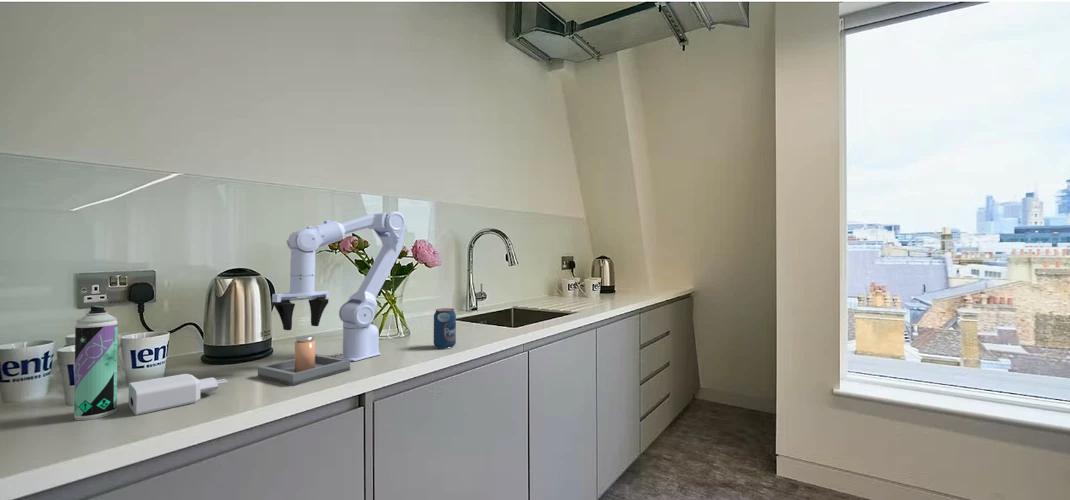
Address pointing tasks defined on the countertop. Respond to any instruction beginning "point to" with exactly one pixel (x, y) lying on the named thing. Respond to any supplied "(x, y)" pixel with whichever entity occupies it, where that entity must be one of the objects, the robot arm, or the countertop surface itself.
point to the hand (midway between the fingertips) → (301, 327)
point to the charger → (168, 392)
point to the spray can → (95, 365)
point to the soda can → (444, 328)
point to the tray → (287, 374)
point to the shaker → (304, 353)
